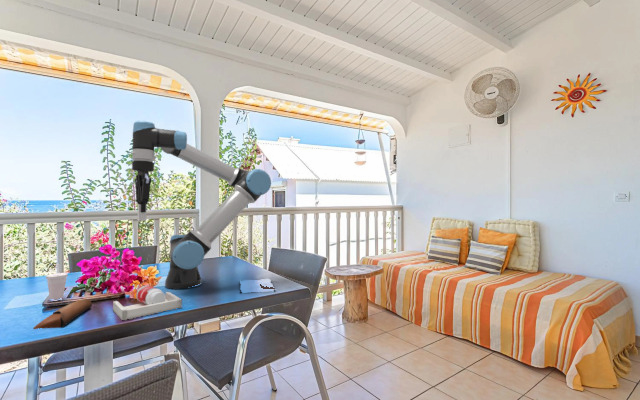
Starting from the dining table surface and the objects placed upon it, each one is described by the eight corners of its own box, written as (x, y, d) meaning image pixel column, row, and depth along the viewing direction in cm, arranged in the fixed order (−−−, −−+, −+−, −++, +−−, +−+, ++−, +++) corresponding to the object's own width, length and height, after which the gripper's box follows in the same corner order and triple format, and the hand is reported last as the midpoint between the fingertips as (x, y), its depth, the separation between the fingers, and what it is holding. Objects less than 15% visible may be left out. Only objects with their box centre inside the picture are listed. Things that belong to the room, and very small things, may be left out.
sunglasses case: (64, 309, 110) (75, 292, 111) (83, 318, 112) (95, 301, 112) (30, 329, 93) (44, 309, 93) (54, 340, 94) (68, 320, 95)
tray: (168, 299, 123) (168, 291, 123) (181, 308, 114) (181, 299, 114) (113, 310, 110) (113, 301, 110) (122, 320, 101) (123, 311, 101)
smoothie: (54, 303, 116) (55, 265, 116) (40, 302, 117) (41, 264, 118) (71, 298, 122) (72, 262, 123) (58, 297, 124) (59, 261, 124)
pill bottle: (145, 281, 118) (160, 286, 112) (156, 292, 121) (171, 297, 115) (131, 295, 114) (146, 301, 108) (142, 305, 118) (157, 311, 111)
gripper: (128, 161, 127) (126, 220, 127) (137, 158, 118) (136, 221, 118) (148, 163, 133) (147, 219, 132) (159, 160, 123) (157, 221, 123)
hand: (141, 220), depth 125 cm, fingers closed
